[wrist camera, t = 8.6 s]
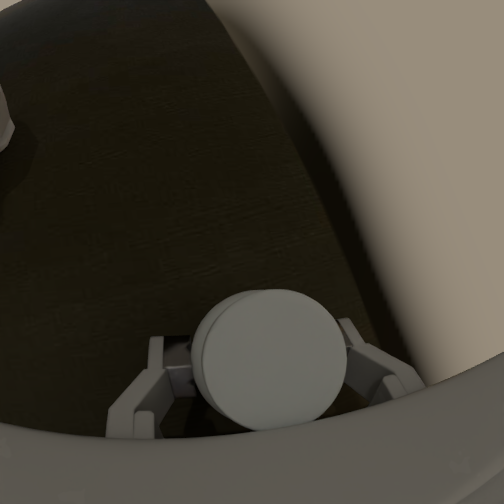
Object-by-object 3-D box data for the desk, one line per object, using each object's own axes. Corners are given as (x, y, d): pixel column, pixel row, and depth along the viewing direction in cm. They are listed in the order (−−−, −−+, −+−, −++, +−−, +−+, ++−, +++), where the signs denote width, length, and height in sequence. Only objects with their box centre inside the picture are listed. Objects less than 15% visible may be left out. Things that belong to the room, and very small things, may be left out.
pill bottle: (298, 372, 16) (383, 393, 8) (218, 410, 15) (237, 474, 7) (261, 293, 17) (317, 248, 9) (179, 329, 15) (157, 316, 8)
